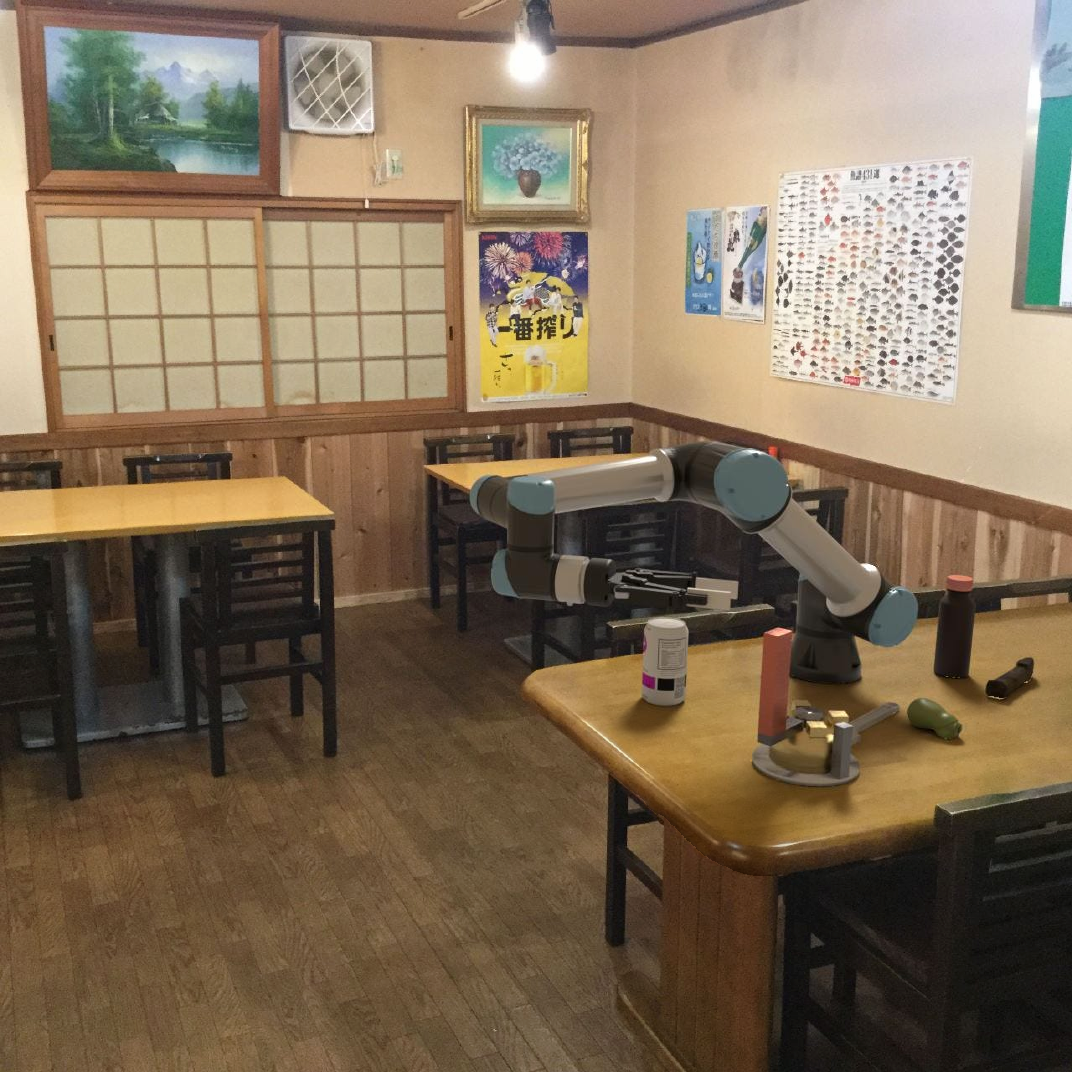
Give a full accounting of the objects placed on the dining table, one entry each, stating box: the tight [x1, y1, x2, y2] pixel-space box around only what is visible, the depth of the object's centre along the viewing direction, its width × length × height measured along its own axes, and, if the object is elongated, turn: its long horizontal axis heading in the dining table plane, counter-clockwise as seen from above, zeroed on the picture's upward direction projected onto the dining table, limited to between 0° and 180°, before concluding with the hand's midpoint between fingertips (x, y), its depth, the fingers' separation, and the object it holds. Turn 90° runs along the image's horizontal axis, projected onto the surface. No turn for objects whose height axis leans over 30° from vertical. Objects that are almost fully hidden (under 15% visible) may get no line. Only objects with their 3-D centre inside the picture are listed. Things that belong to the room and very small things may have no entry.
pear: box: [906, 697, 963, 740], centre depth 206 cm, size 6×5×10 cm
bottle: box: [933, 574, 977, 679], centre depth 236 cm, size 7×7×20 cm
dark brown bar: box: [985, 656, 1035, 699], centre depth 230 cm, size 19×4×5 cm, turn 135°
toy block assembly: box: [756, 627, 850, 773], centre depth 186 cm, size 19×12×24 cm, turn 136°
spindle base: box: [751, 706, 861, 788], centre depth 190 cm, size 17×17×10 cm
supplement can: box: [641, 616, 689, 707], centre depth 218 cm, size 8×8×15 cm
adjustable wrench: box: [848, 701, 901, 746], centre depth 208 cm, size 25×6×2 cm, turn 133°
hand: (733, 595), depth 179 cm, fingers open, 6 cm apart
